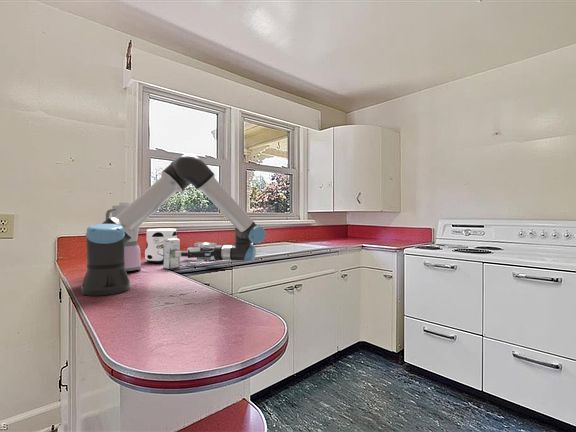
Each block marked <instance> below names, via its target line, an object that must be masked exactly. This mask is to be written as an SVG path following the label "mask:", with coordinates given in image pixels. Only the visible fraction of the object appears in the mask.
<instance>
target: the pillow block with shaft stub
mask: <svg viewBox="0 0 576 432" xmlns="http://www.w3.org/2000/svg"><path fill="white" fill-rule="evenodd" d="M216 245H218V244H217V242H195V243H194V244H193V248H200V249H201V248H204V247H206V248H215V246H216ZM213 259H214V256H211V257H197V258H196V260H212V261H214V260H215V259H214V260H213Z"/></svg>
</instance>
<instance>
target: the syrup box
mask: <svg viewBox="0 0 576 432" xmlns="http://www.w3.org/2000/svg"><path fill="white" fill-rule="evenodd" d="M180 244H181V240H180V238H178V237H177V238H171V239H163V263H162V264H163V269H168V270H169V269H170V270H171V269H178V268H180V267H181V266H180V261H181V260H180V258H181V257H175V251H181V249H180V248H181V245H180Z"/></svg>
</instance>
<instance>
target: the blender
mask: <svg viewBox="0 0 576 432" xmlns="http://www.w3.org/2000/svg"><path fill="white" fill-rule="evenodd" d="M131 203H132V202H119V204H118V205H112V207H111V208H110V209H108V210H107V211H106V212H105V220H107V219H108V218H109V217H116V216H117V215H118V214H120V213H121V212H122V211H123V210H124V209H125V208H126V207H128V206H129V205H130V204H131ZM139 230H140V225H139V226H138V227H137V228H136V229H135V230H134V231H133V233H132V238H131V239H130V240H129V241H128V242H127V243H126V244H124V260H125V261H124V262H125V270H126V272H130V271H137V270H138V271H140V272H141V270H142V268H141V266H142V265H141V247H140V245H139V243H138V237H139Z"/></svg>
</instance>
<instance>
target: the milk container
mask: <svg viewBox="0 0 576 432" xmlns="http://www.w3.org/2000/svg"><path fill="white" fill-rule="evenodd" d="M177 233H178V232H177V229H176V228H148V229H146V233H145V234H146V247H145V250H144V256H145V257H144V258H145V260H146V261H147V262H148V263H154V264H155V263H157V264H158V263H159V264H160V263H161V264H163V239H171V238H177V239H178V236H177Z"/></svg>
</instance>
